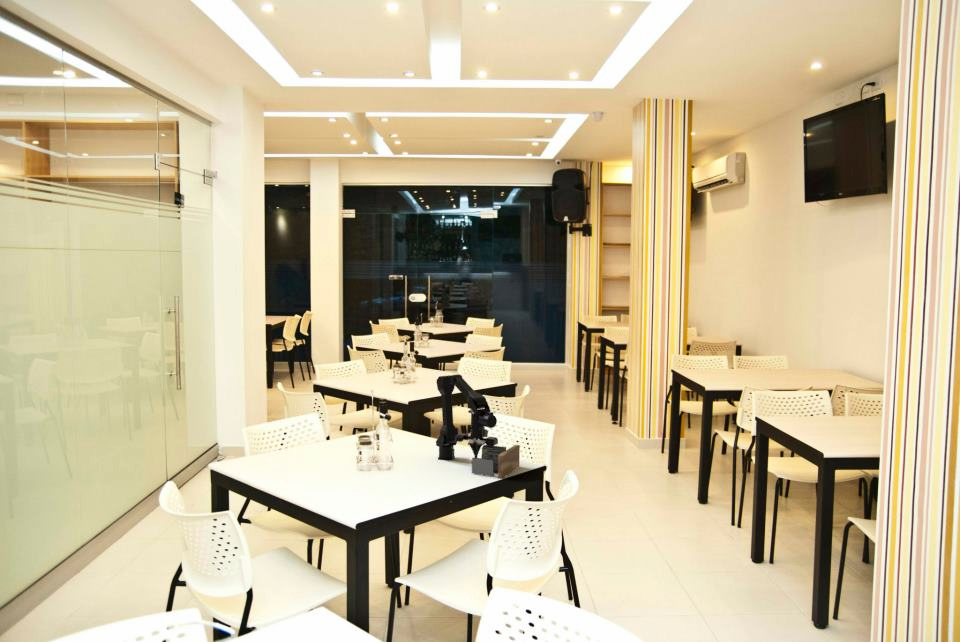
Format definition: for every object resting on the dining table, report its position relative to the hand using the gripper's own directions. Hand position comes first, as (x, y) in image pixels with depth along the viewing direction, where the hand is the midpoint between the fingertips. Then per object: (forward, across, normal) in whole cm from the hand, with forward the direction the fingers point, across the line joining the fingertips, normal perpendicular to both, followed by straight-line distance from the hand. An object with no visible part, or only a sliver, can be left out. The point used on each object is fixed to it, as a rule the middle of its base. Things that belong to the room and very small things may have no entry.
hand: (476, 458), depth 314 cm
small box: (+4, -8, 0) cm, 9 cm away
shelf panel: (+4, -16, 0) cm, 17 cm away
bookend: (+5, -7, +8) cm, 12 cm away
